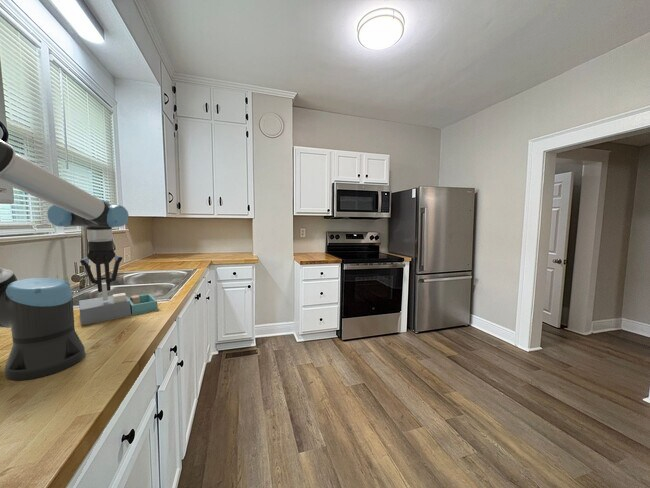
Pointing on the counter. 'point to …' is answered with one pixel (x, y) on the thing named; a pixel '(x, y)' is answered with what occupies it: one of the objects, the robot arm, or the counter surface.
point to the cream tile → (119, 297)
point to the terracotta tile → (135, 299)
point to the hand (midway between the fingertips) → (105, 299)
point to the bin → (143, 304)
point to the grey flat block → (102, 310)
